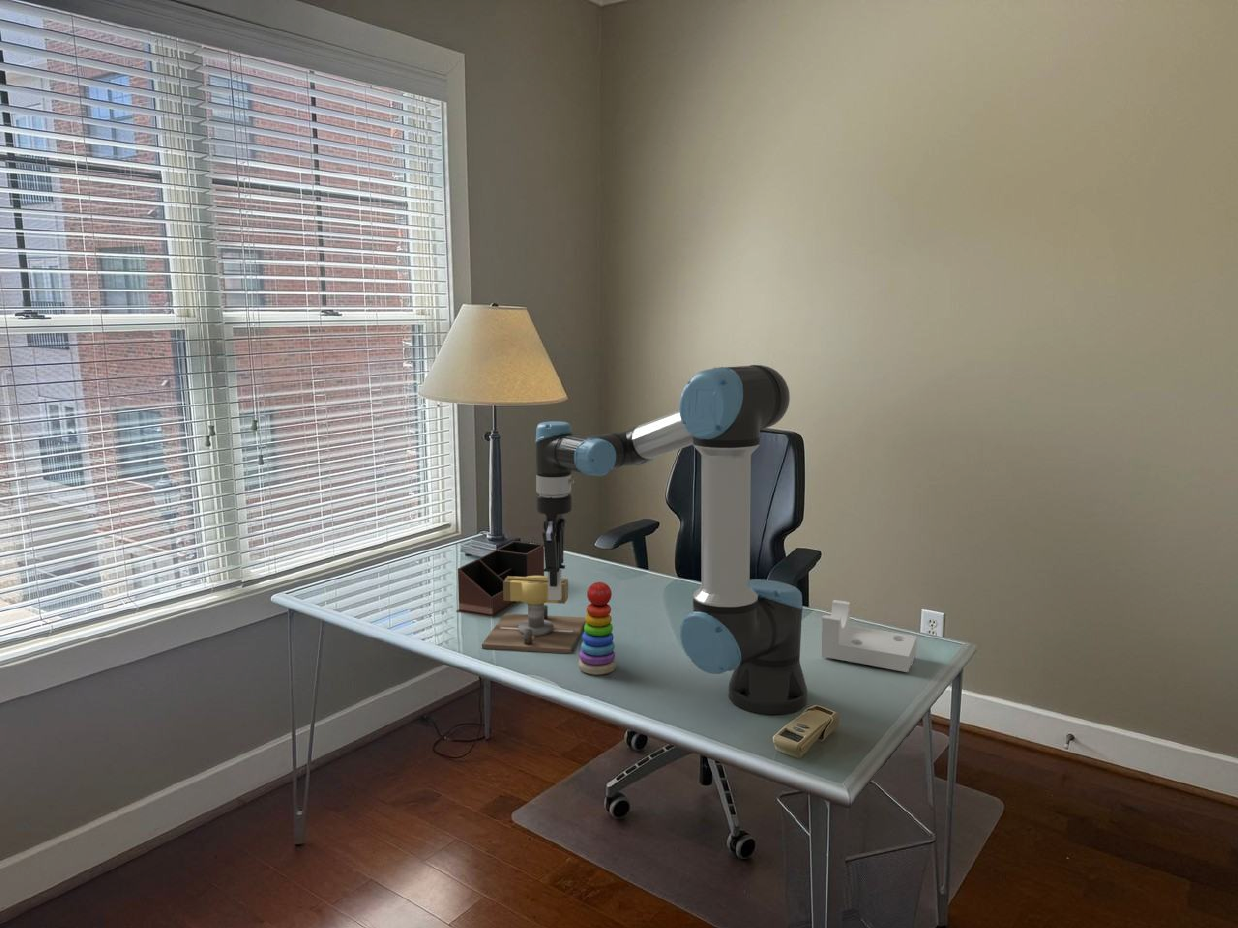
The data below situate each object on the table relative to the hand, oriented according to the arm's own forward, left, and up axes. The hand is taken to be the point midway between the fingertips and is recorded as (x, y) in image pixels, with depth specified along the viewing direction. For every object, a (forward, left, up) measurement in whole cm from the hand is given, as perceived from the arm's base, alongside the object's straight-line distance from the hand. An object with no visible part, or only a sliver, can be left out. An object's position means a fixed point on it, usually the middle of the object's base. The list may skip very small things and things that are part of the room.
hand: (554, 598), depth 196 cm
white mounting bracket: (+4, -68, -12) cm, 69 cm away
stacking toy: (-10, -11, -12) cm, 19 cm away
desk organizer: (+32, +20, -12) cm, 40 cm away
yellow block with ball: (+7, +6, -3) cm, 10 cm away
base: (+7, +6, -12) cm, 15 cm away
